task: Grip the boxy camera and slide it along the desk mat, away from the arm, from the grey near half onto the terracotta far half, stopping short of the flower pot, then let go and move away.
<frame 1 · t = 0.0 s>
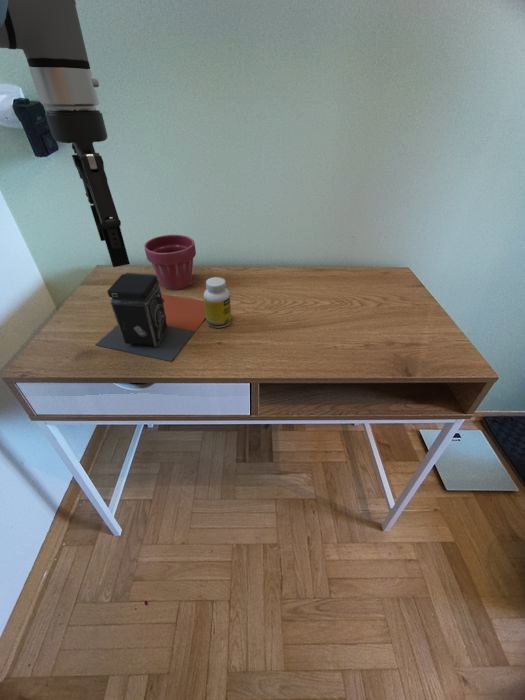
hand: (114, 251, 59), 24 cm above the table, tool pointing down, fingers open, 13 cm apart
desk mat: (161, 323, 83), on the table
camera: (149, 335, 78), resting on desk mat
flower pot: (176, 283, 100), on the table
pill bottle: (219, 322, 84), on the table
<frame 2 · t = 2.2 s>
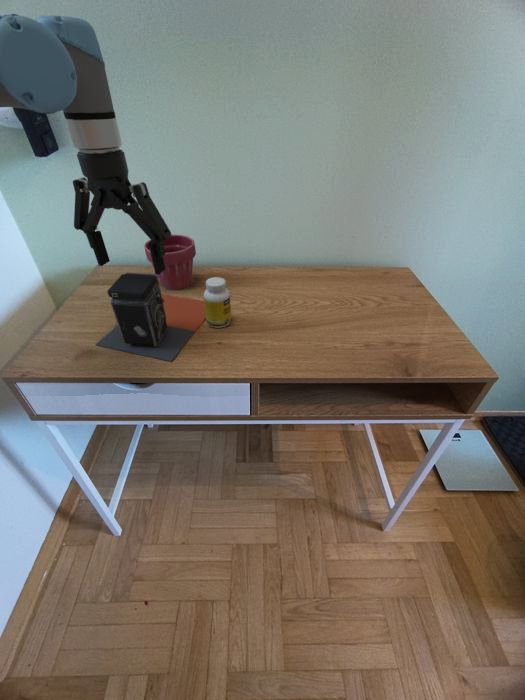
hand: (131, 267, 67), 18 cm above the table, tool pointing down, fingers open, 13 cm apart
nothing on the table moved.
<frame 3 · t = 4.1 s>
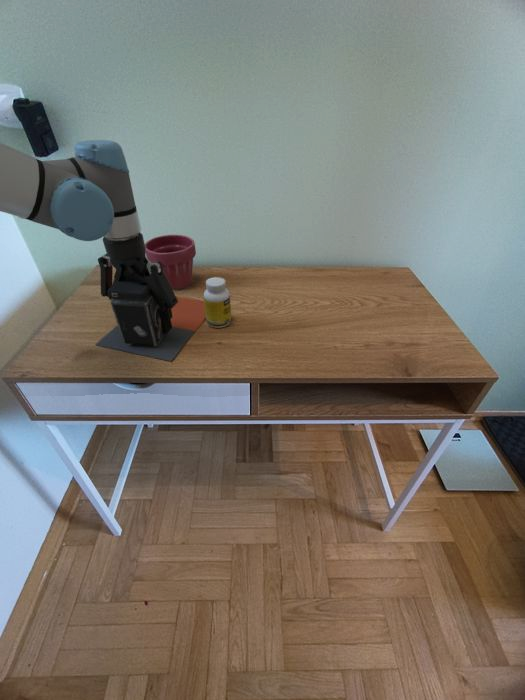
hand: (146, 326, 77), 3 cm above the table, tool pointing down, fingers closed on camera, 11 cm apart
camera: (149, 335, 78), resting on desk mat, touching gripper
everything else where it was.
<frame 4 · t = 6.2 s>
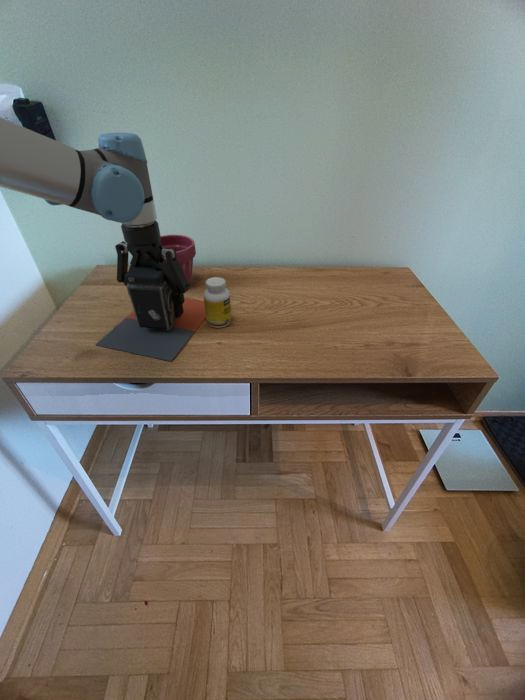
hand: (159, 311, 81), 4 cm above the table, tool pointing down, fingers closed on camera, 11 cm apart
camera: (161, 320, 83), point 1 cm above the table, touching gripper
everything else where it was.
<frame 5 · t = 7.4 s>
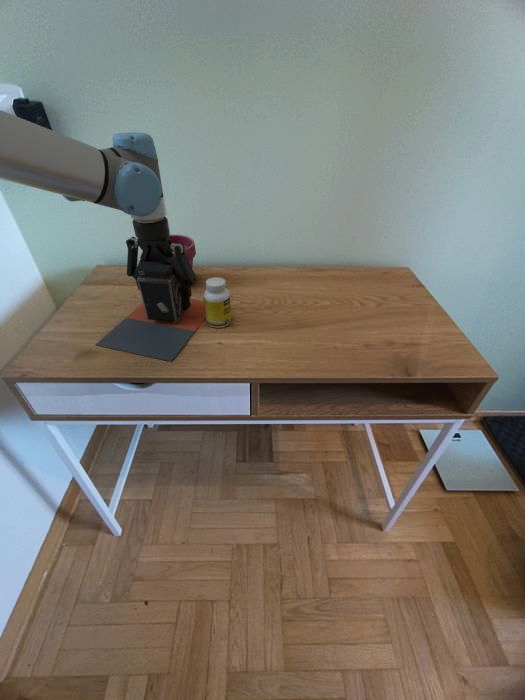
hand: (167, 304, 84), 3 cm above the table, tool pointing down, fingers closed on camera, 11 cm apart
camera: (169, 313, 86), resting on desk mat, touching gripper
everything else where it was.
when the fingers open (3 cm above the table, at t = 8.1 s): camera stays where it is, resting on desk mat.
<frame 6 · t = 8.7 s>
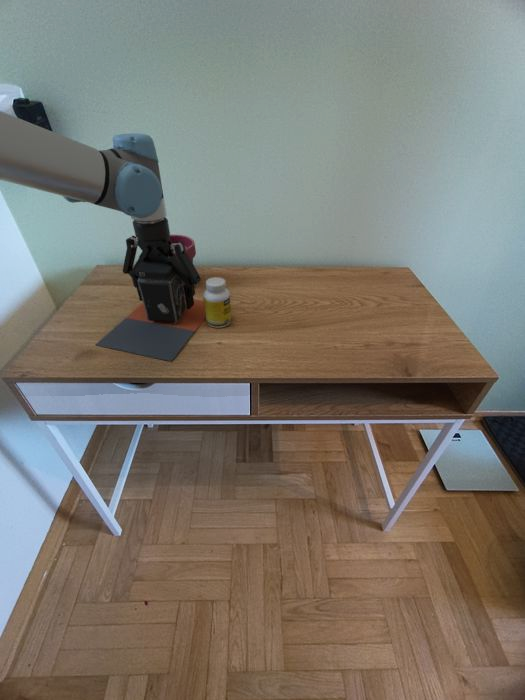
hand: (166, 302, 84), 4 cm above the table, tool pointing down, fingers open, 13 cm apart
camera: (169, 314, 86), resting on desk mat
everything else where it was.
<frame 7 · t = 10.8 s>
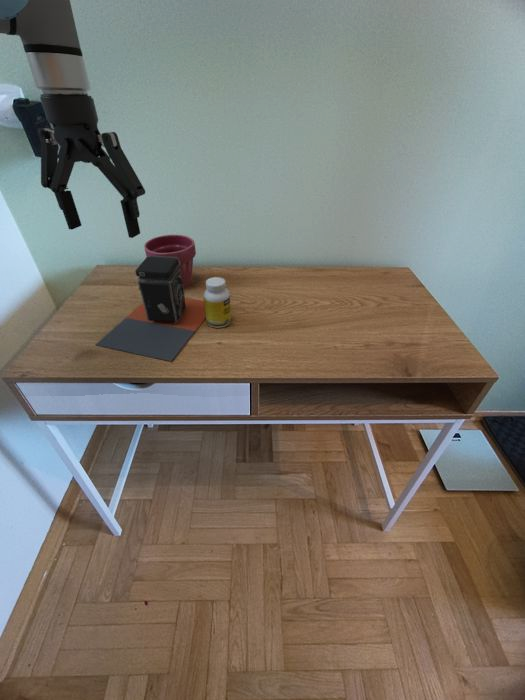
hand: (104, 231, 63), 25 cm above the table, tool pointing down, fingers open, 13 cm apart
nothing on the table moved.
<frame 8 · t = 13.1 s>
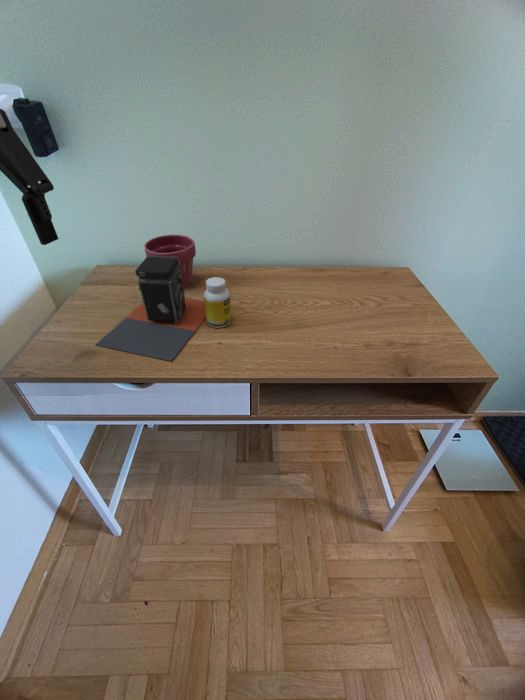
hand: (15, 237, 51), 29 cm above the table, tool pointing down, fingers open, 13 cm apart
nothing on the table moved.
at the end: camera inside the target area (1.8 cm from its centre), resting on desk mat; camera tilted 0°; flower pot moved 0.2 cm from its start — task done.
